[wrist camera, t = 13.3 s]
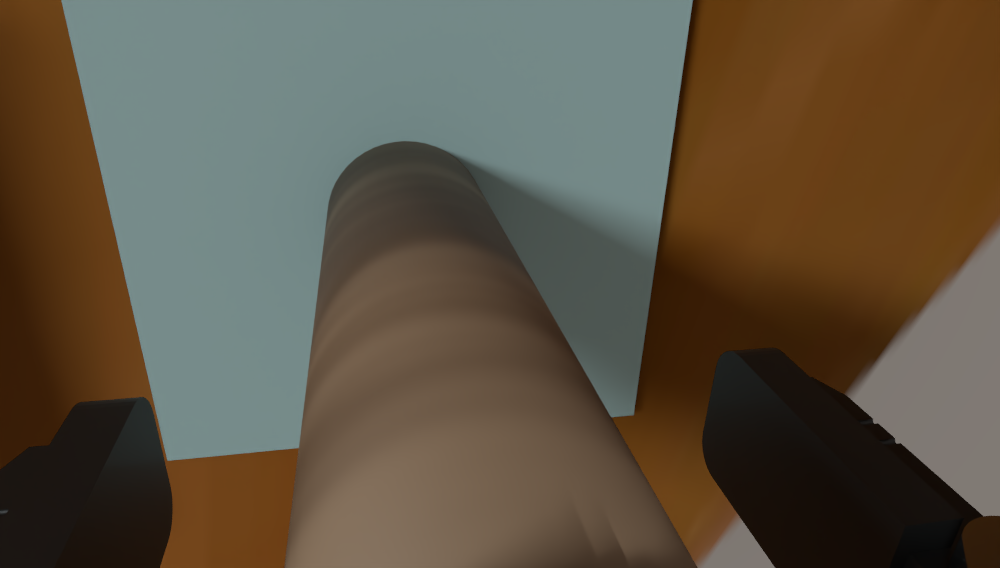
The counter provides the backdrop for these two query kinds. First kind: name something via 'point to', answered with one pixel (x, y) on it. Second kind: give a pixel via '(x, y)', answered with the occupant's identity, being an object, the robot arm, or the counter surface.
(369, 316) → the pin
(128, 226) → the mat
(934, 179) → the counter surface
